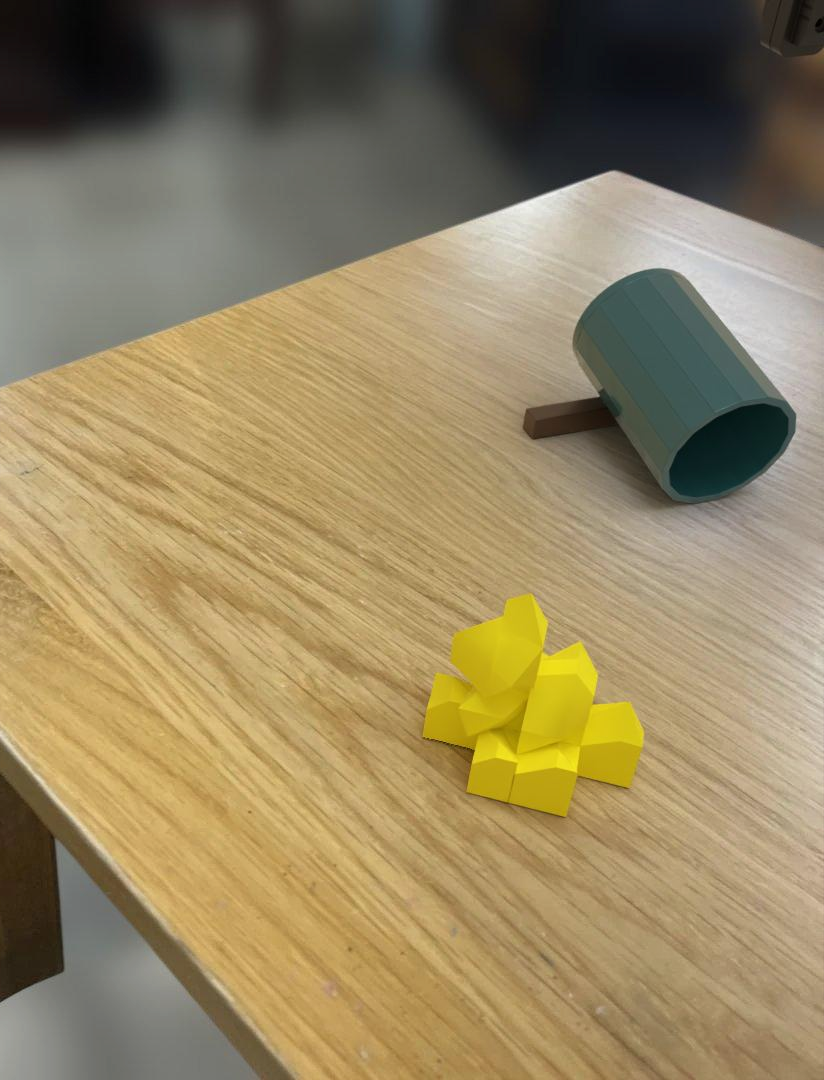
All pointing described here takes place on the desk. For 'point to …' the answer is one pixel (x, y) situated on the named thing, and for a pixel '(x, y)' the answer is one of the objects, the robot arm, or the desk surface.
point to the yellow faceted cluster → (530, 714)
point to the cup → (681, 386)
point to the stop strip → (567, 417)
